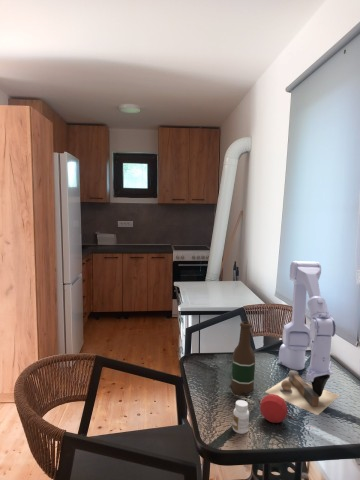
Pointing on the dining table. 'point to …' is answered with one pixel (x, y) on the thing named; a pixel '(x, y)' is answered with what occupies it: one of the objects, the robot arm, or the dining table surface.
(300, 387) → the lever
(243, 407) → the pill bottle
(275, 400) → the red round piece
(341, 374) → the dining table surface
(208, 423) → the dining table surface
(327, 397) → the board
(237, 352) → the beer bottle
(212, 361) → the dining table surface
